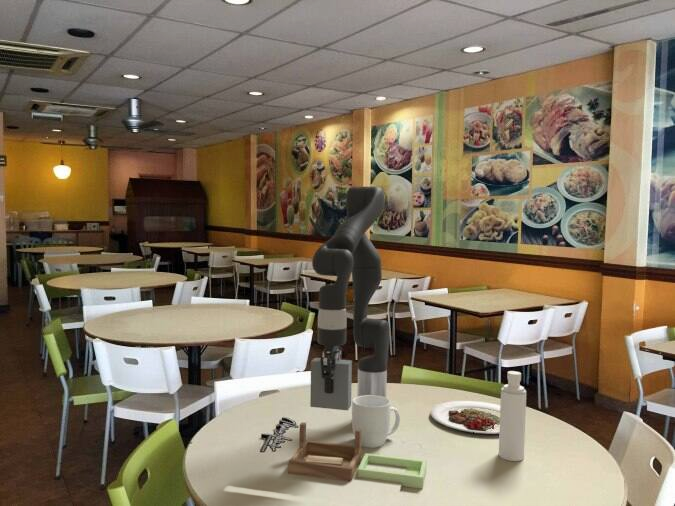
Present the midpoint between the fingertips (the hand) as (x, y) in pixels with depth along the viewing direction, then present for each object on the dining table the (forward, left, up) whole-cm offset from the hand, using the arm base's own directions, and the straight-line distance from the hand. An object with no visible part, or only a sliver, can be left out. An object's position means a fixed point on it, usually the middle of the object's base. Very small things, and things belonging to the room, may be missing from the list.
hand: (331, 390), depth 146 cm
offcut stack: (+7, 0, -19) cm, 20 cm away
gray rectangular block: (0, 0, -4) cm, 4 cm away
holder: (+2, +17, -20) cm, 26 cm away
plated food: (-46, +38, -20) cm, 63 cm away
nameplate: (-14, -19, -20) cm, 31 cm away
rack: (+3, 0, -20) cm, 20 cm away
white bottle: (-19, +47, -20) cm, 54 cm away
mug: (-16, +9, -20) cm, 27 cm away
